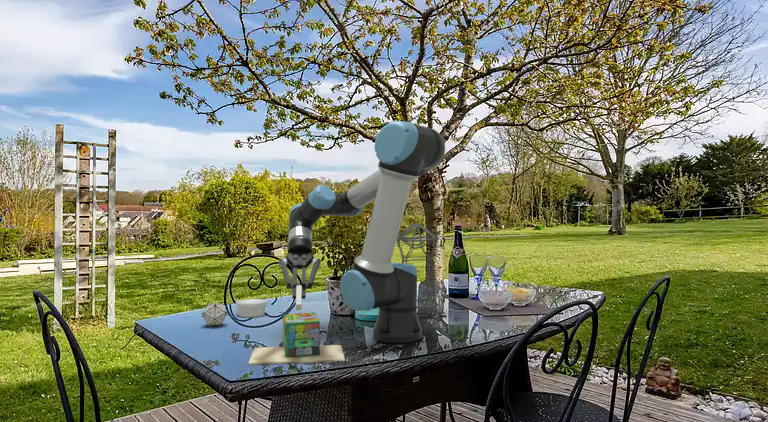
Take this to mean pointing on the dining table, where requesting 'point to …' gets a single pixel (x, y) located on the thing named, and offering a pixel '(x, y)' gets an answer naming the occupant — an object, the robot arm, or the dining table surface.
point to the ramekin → (251, 307)
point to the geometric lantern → (421, 259)
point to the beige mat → (278, 357)
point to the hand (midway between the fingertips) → (298, 307)
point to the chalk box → (301, 334)
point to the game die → (214, 314)
